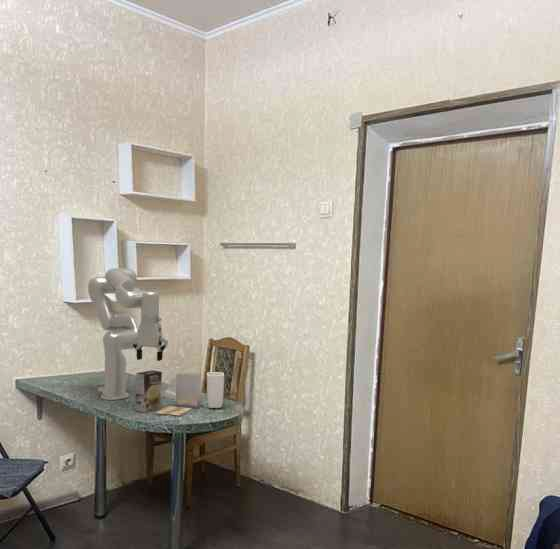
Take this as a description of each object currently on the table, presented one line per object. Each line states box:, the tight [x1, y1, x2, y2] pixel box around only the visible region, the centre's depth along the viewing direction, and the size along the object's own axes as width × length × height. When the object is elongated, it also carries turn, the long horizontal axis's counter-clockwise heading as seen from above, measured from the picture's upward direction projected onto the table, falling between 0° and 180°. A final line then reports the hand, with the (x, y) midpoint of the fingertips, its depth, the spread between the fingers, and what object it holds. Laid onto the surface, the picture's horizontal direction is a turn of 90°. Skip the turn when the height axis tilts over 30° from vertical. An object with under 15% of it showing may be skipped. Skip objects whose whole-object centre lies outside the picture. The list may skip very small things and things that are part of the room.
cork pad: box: [153, 405, 192, 417], centre depth 206 cm, size 12×11×1 cm
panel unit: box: [172, 371, 204, 410], centre depth 215 cm, size 12×6×14 cm, turn 75°
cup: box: [206, 371, 225, 409], centre depth 214 cm, size 7×7×15 cm
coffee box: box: [134, 370, 163, 413], centre depth 209 cm, size 9×6×16 cm
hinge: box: [163, 377, 176, 400], centre depth 232 cm, size 17×5×10 cm, turn 43°
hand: (149, 359), depth 209 cm, fingers open, 9 cm apart
